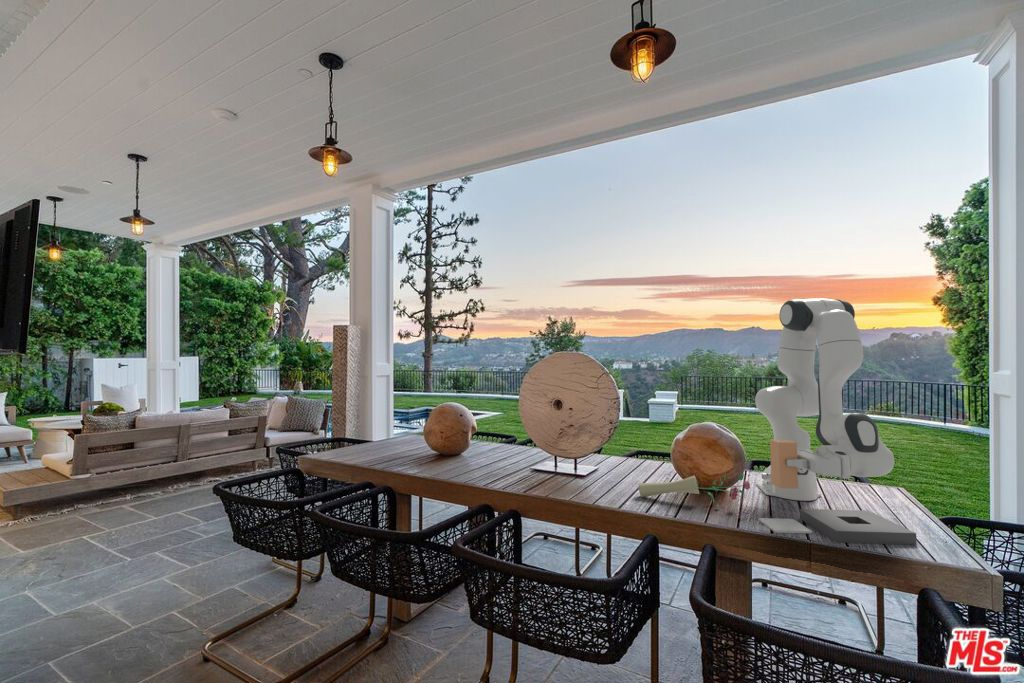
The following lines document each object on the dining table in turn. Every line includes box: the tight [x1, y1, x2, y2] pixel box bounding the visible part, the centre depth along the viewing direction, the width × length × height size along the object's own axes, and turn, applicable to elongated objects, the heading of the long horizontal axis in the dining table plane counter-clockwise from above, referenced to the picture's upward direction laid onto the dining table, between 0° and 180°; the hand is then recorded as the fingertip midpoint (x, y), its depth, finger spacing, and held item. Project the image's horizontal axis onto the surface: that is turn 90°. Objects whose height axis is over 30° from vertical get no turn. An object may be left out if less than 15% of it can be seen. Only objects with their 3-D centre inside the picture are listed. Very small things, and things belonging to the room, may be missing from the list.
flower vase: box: [638, 472, 751, 511], centre depth 155 cm, size 12×12×35 cm
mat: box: [758, 517, 813, 534], centre depth 135 cm, size 10×10×1 cm
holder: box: [799, 508, 917, 545], centre depth 131 cm, size 18×20×3 cm
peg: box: [769, 439, 798, 489], centre depth 135 cm, size 5×5×13 cm
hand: (780, 460), depth 135 cm, fingers closed on peg, 5 cm apart
